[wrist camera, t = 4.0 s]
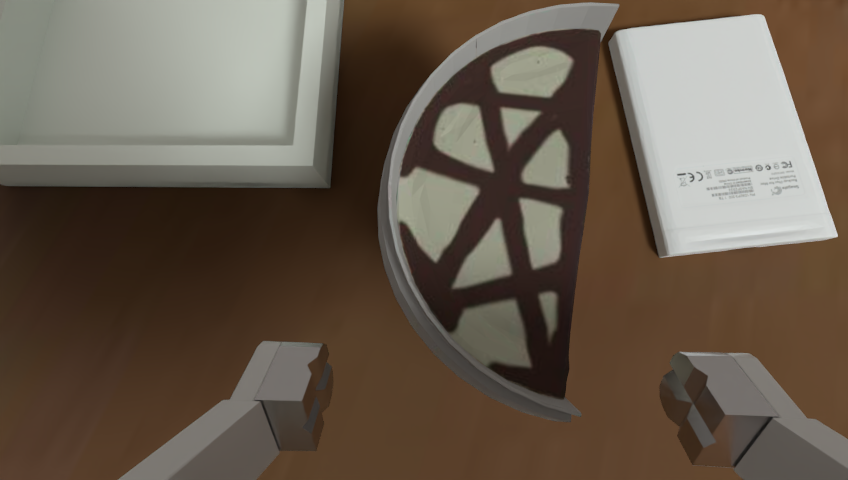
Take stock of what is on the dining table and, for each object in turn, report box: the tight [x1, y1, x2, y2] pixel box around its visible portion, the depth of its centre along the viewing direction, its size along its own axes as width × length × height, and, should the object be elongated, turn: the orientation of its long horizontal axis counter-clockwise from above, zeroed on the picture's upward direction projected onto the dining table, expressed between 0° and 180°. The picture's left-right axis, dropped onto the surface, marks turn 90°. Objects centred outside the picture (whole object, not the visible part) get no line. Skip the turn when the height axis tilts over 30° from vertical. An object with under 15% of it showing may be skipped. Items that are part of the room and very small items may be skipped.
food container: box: [377, 3, 619, 422], centre depth 15 cm, size 12×6×10 cm, turn 170°
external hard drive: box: [608, 14, 838, 258], centre depth 21 cm, size 2×8×12 cm
